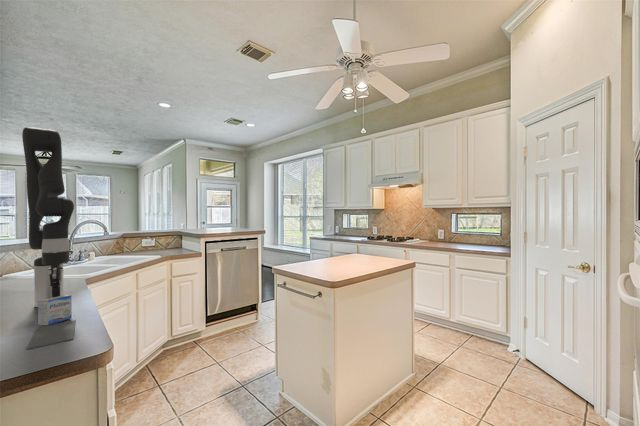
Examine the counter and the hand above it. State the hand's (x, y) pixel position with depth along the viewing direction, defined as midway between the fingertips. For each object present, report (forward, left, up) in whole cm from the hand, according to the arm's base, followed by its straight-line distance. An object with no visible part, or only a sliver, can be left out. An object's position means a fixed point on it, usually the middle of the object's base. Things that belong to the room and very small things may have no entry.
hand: (56, 296), depth 106 cm
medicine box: (+7, 0, -8) cm, 10 cm away
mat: (+20, +1, -8) cm, 21 cm away
